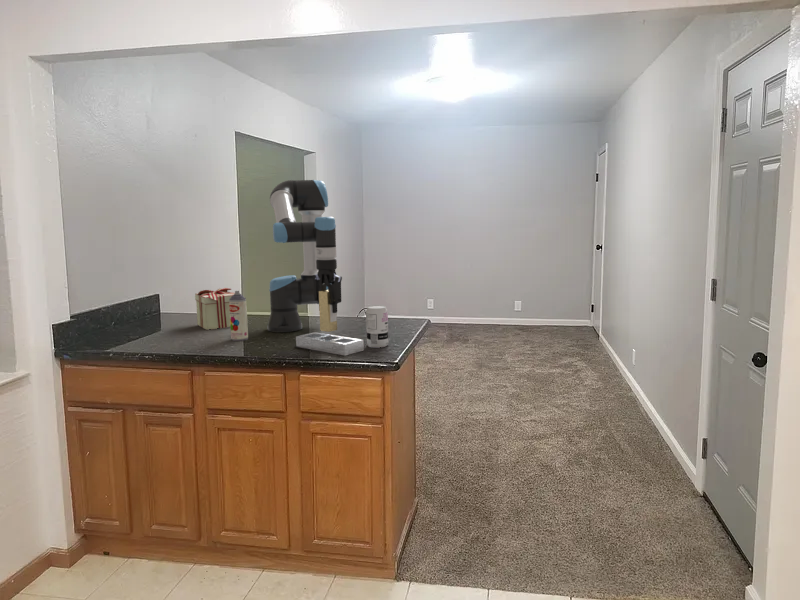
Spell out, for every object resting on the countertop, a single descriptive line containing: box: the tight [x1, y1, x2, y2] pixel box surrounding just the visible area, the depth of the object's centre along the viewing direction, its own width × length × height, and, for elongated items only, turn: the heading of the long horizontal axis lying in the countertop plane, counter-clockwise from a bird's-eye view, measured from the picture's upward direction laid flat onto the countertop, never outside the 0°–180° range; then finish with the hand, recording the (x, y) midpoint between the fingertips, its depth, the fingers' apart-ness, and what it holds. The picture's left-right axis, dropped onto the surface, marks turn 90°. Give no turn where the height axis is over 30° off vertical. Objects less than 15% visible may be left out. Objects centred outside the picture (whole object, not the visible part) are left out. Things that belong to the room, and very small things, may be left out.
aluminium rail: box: [295, 331, 365, 356], centre depth 238 cm, size 26×10×4 cm, turn 51°
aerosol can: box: [229, 290, 249, 342], centre depth 257 cm, size 7×7×20 cm
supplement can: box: [365, 305, 389, 349], centre depth 240 cm, size 8×8×15 cm
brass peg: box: [318, 290, 338, 333], centre depth 236 cm, size 4×4×15 cm
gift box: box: [194, 287, 235, 331], centre depth 287 cm, size 17×18×17 cm
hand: (328, 320), depth 237 cm, fingers closed on brass peg, 4 cm apart
